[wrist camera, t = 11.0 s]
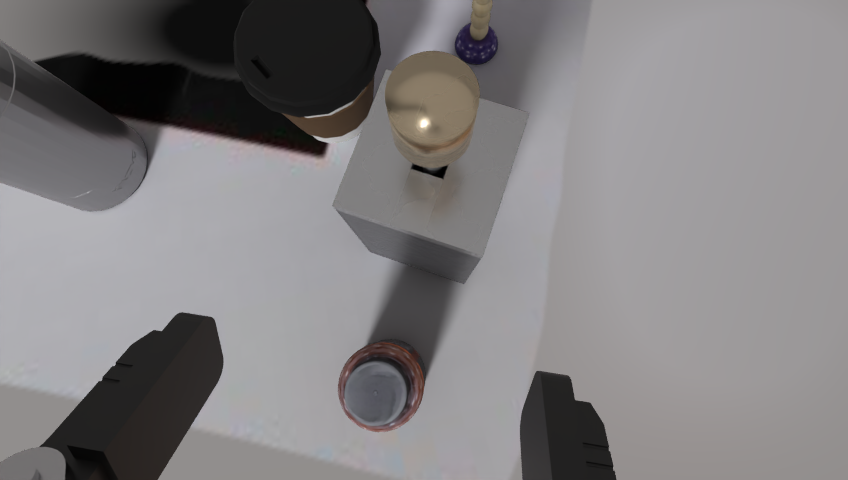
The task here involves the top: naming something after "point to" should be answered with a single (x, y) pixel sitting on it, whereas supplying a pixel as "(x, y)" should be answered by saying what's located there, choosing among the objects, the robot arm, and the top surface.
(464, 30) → the toy lamp
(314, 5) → the coffee cup
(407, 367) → the supplement bottle
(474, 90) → the tan rounded stemmed piece
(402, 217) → the block with hole
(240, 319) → the top surface
